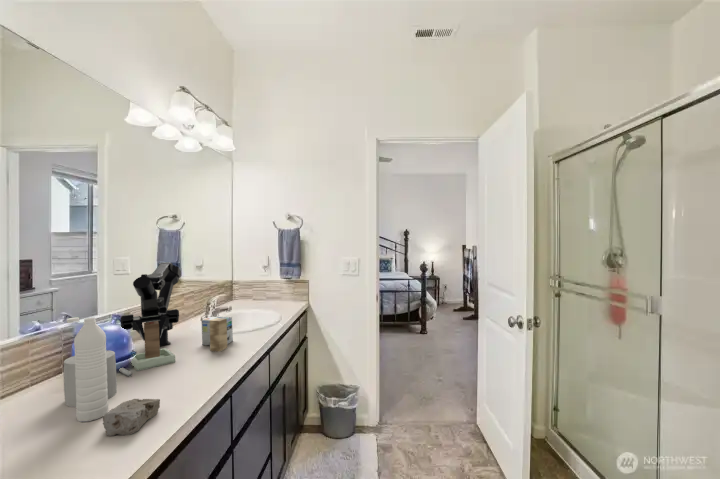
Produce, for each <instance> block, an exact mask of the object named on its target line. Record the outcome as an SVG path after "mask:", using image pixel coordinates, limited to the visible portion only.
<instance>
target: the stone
mask: <svg viewBox="0 0 720 479" xmlns="http://www.w3.org/2000/svg"><path fill="white" fill-rule="evenodd" d="M160 401H161V399H160V398H155V399H154V398H142V399H140V398H133V399H130V400H126V401H123V402H121V403H120V404H118V405H117V406H116V407H113V408H111V409H110V410H108V412H107V413H106V414H105V415H104V416H103V417H102V425H103V428H104V430H105V435H106V436H108V437H114V436H117V435H119V436H128V435H133V434H135V433H137V432H138V431H140V429H141V427H143V425H144V424H146V422H147V421H148V420H150V419H151V418H153V417H155V416H156V414H158V412H159V408H160V407H161V402H160Z"/></svg>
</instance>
